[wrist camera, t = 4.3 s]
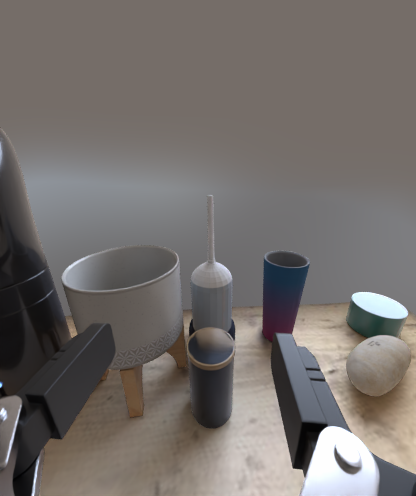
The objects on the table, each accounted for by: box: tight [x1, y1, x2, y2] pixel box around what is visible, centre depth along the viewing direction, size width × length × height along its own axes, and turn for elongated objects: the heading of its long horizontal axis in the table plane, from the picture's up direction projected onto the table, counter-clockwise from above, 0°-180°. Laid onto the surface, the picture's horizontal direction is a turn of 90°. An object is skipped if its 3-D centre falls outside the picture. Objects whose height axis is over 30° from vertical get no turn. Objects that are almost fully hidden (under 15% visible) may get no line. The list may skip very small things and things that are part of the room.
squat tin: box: [346, 292, 408, 339], centre depth 37 cm, size 8×8×5 cm
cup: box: [262, 251, 310, 342], centre depth 34 cm, size 7×7×15 cm
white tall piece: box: [189, 195, 235, 340], centre depth 32 cm, size 8×8×25 cm
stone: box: [346, 335, 411, 396], centre depth 28 cm, size 6×6×12 cm
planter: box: [61, 245, 186, 418], centre depth 27 cm, size 13×13×18 cm
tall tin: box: [186, 327, 235, 428], centre depth 24 cm, size 5×5×10 cm
